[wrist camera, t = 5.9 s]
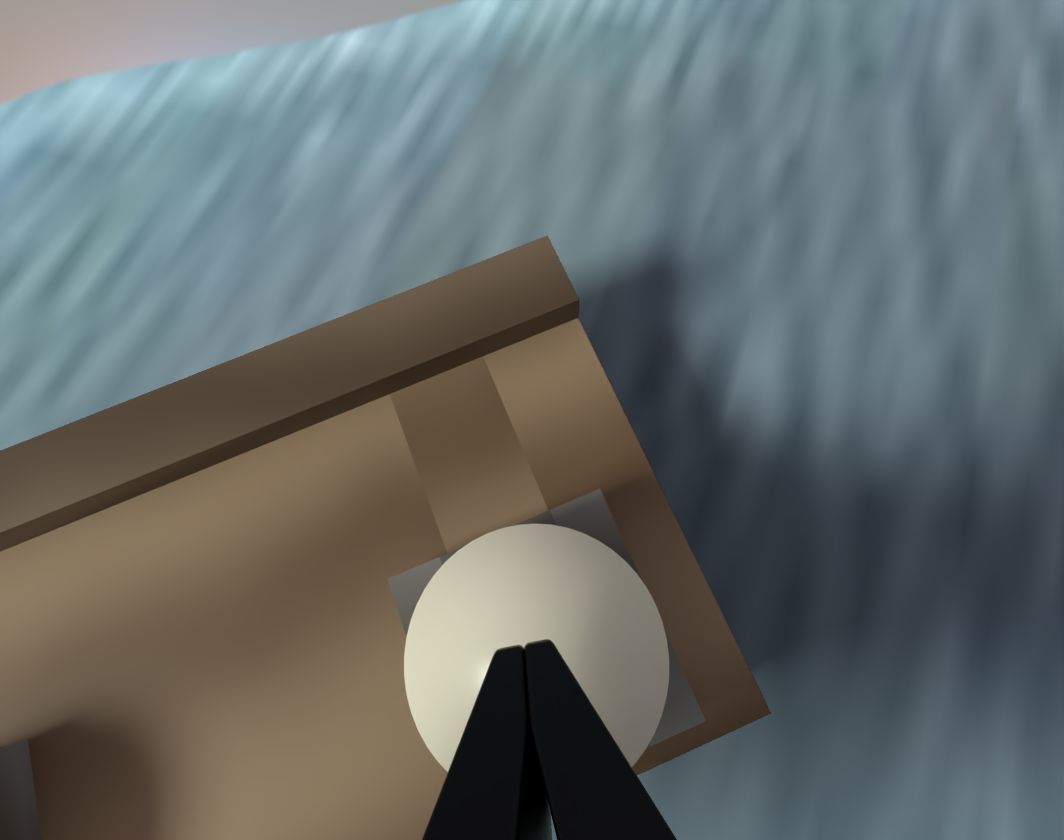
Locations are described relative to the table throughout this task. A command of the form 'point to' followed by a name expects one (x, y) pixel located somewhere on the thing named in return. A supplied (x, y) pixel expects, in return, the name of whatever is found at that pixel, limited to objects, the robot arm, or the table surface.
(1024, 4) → the table surface
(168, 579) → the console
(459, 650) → the button cream
